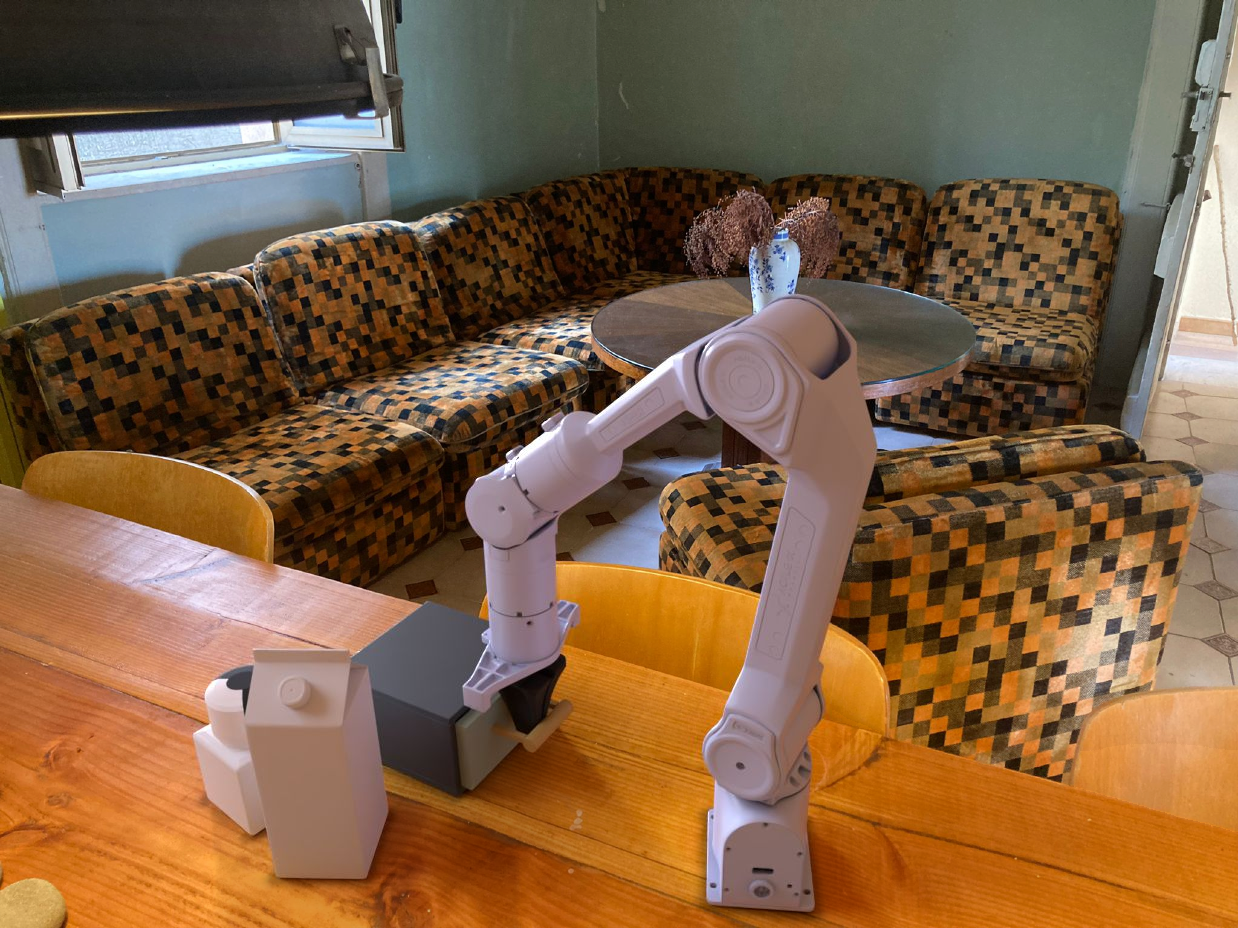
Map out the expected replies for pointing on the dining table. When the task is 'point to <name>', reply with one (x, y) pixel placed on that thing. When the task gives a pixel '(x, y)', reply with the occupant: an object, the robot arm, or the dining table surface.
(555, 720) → the drawer
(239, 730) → the medicine bottle
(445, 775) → the cabinet
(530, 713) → the robot arm
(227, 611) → the dining table surface
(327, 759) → the milk carton
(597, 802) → the dining table surface
